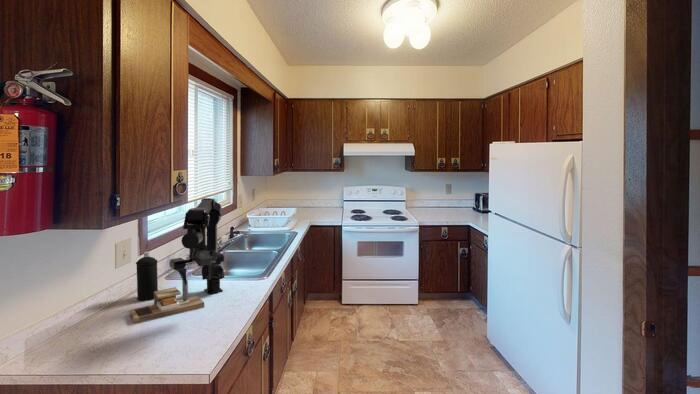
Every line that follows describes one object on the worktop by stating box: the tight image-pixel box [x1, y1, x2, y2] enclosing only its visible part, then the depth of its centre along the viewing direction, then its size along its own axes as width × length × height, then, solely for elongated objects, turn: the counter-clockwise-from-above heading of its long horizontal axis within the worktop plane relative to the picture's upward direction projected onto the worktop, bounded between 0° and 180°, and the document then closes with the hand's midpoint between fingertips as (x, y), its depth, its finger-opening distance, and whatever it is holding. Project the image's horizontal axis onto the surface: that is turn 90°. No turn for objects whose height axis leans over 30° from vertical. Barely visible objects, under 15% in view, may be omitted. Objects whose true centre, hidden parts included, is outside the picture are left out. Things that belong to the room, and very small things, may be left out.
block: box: [161, 296, 175, 307], centre depth 143 cm, size 4×4×4 cm
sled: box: [157, 276, 189, 311], centre depth 144 cm, size 7×11×10 cm, turn 131°
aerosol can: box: [135, 251, 159, 302], centre depth 155 cm, size 8×8×20 cm
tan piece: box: [128, 286, 205, 325], centre depth 143 cm, size 10×25×8 cm, turn 131°
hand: (198, 282), depth 138 cm, fingers open, 9 cm apart
